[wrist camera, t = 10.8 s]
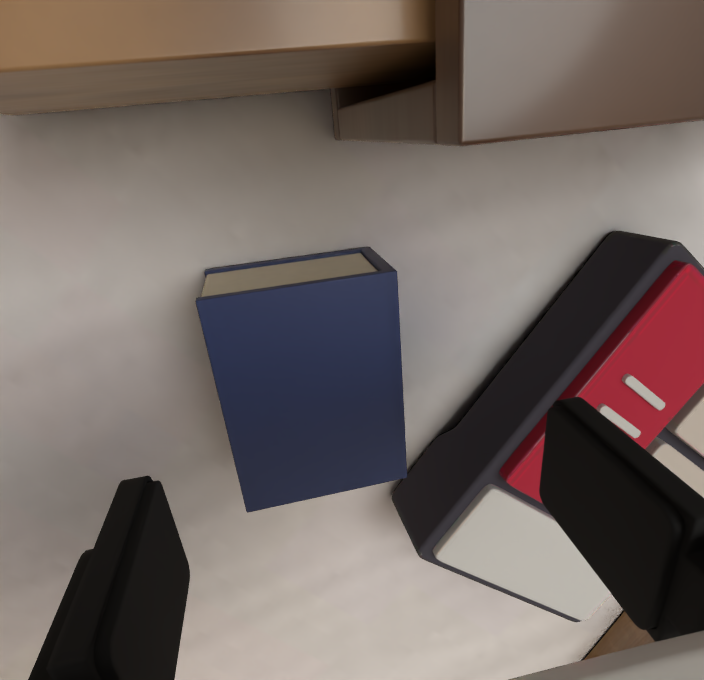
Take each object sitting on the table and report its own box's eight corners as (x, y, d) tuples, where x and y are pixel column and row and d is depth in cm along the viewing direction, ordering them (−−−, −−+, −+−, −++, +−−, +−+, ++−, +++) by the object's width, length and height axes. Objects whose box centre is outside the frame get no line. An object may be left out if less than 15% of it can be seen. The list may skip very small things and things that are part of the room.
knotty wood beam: (541, 707, 32) (622, 706, 36) (587, 789, 28) (672, 779, 32) (666, 560, 28) (743, 575, 32) (739, 631, 24) (818, 639, 28)
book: (382, 425, 20) (407, 477, 17) (246, 453, 19) (246, 513, 16) (369, 246, 17) (397, 270, 14) (204, 269, 16) (195, 300, 13)
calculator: (828, 389, 19) (591, 641, 22) (728, 350, 23) (536, 567, 26) (699, 239, 15) (421, 573, 18) (602, 223, 19) (386, 497, 21)
